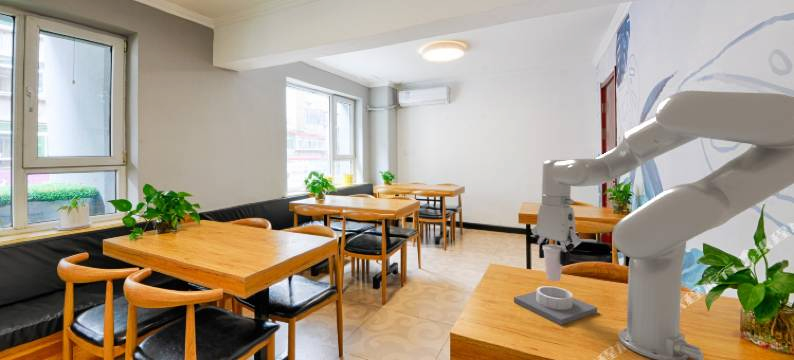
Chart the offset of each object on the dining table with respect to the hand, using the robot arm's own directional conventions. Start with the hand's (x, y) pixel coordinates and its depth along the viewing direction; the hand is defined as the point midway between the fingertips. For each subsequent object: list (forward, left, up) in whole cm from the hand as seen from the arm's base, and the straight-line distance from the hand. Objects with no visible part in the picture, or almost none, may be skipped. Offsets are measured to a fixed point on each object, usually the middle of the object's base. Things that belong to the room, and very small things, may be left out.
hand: (553, 260), depth 93 cm
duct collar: (0, 0, -14) cm, 14 cm away
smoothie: (0, 0, -6) cm, 6 cm away
